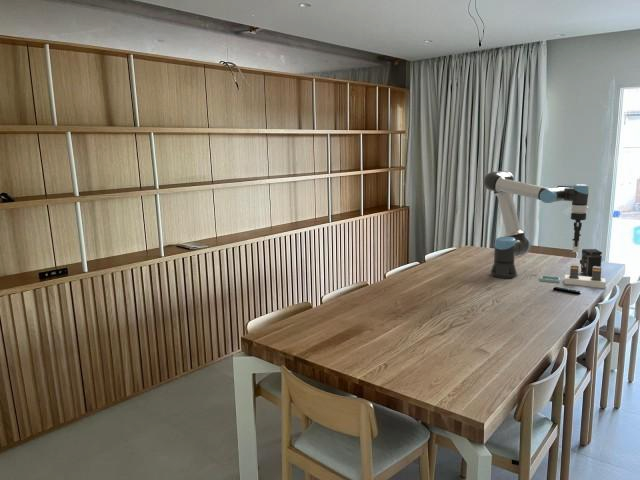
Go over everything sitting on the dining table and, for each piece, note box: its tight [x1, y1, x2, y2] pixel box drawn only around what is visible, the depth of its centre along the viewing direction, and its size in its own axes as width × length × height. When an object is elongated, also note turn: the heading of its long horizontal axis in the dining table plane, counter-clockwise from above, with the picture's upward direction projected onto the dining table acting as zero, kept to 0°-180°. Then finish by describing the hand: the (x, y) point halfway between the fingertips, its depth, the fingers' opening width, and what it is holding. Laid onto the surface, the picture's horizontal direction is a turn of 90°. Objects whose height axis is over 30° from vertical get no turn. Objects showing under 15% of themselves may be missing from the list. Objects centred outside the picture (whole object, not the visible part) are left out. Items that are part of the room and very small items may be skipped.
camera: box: [579, 248, 603, 276], centre depth 285 cm, size 10×10×15 cm
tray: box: [539, 275, 561, 284], centre depth 273 cm, size 10×8×2 cm
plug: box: [569, 263, 580, 279], centre depth 267 cm, size 4×4×10 cm
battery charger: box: [564, 266, 607, 289], centre depth 264 cm, size 20×9×10 cm, turn 61°
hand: (575, 249), depth 264 cm, fingers open, 13 cm apart
